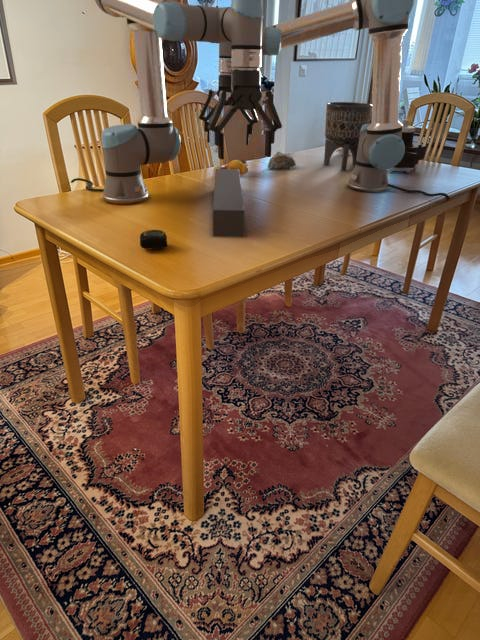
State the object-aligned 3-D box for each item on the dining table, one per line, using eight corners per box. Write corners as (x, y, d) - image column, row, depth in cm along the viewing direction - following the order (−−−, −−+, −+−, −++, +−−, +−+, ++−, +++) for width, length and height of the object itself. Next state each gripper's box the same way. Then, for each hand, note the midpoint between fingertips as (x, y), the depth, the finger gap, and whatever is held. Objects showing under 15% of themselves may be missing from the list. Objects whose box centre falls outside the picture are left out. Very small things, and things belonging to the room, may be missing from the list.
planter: (313, 167, 208) (319, 103, 195) (331, 160, 222) (338, 101, 209) (353, 173, 199) (362, 107, 185) (369, 166, 213) (379, 104, 199)
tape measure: (140, 252, 115) (139, 238, 113) (141, 242, 120) (140, 229, 119) (167, 251, 116) (166, 237, 114) (167, 241, 121) (166, 228, 120)
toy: (217, 168, 186) (223, 160, 199) (223, 183, 189) (228, 174, 202) (243, 159, 183) (247, 151, 195) (248, 175, 186) (252, 166, 198)
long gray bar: (215, 189, 171) (215, 168, 168) (238, 189, 172) (238, 169, 168) (213, 236, 127) (212, 210, 123) (243, 236, 127) (244, 210, 123)
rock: (286, 164, 212) (287, 149, 208) (299, 167, 206) (301, 152, 203) (265, 168, 204) (266, 153, 201) (279, 171, 199) (280, 156, 195)
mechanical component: (372, 119, 196) (401, 114, 216) (364, 169, 206) (392, 160, 226) (421, 124, 184) (447, 118, 203) (410, 177, 194) (436, 167, 214)
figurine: (357, 153, 242) (361, 127, 235) (346, 157, 231) (349, 130, 224) (343, 151, 245) (346, 126, 239) (331, 155, 235) (334, 129, 228)
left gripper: (201, 69, 108) (204, 162, 118) (297, 70, 115) (291, 157, 125) (194, 68, 114) (197, 156, 124) (285, 69, 121) (281, 153, 131)
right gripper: (190, 72, 145) (191, 142, 156) (268, 76, 144) (263, 147, 155) (194, 72, 152) (194, 139, 162) (268, 75, 151) (263, 143, 161)
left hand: (244, 157), depth 125 cm, fingers open, 13 cm apart
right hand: (228, 143), depth 159 cm, fingers open, 13 cm apart
